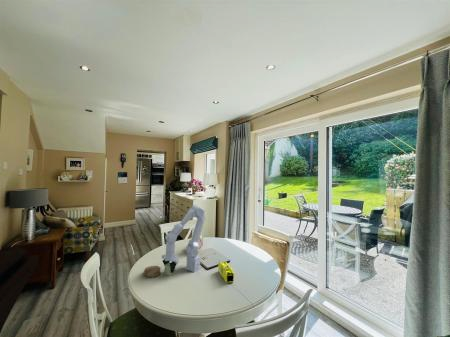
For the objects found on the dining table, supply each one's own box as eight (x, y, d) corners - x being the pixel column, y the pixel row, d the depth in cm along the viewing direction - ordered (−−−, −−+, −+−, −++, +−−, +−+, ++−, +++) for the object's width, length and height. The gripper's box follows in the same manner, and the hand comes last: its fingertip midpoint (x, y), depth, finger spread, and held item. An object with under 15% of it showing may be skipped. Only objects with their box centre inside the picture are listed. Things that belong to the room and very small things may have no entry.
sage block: (174, 272, 136) (174, 264, 136) (169, 275, 132) (169, 266, 132) (169, 271, 139) (170, 262, 139) (164, 273, 135) (165, 264, 135)
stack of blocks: (196, 245, 187) (196, 231, 187) (202, 245, 186) (203, 232, 186) (188, 254, 166) (189, 239, 166) (196, 255, 165) (196, 240, 165)
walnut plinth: (163, 272, 136) (163, 268, 136) (150, 279, 127) (151, 274, 127) (153, 268, 141) (153, 264, 141) (140, 274, 133) (141, 270, 133)
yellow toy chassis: (217, 271, 140) (217, 259, 140) (225, 270, 142) (225, 258, 142) (225, 284, 125) (226, 270, 125) (234, 282, 127) (234, 269, 127)
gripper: (158, 250, 136) (157, 270, 136) (173, 255, 128) (172, 277, 128) (166, 247, 142) (165, 266, 142) (181, 252, 134) (180, 272, 134)
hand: (169, 271), depth 136 cm, fingers closed on sage block, 4 cm apart
